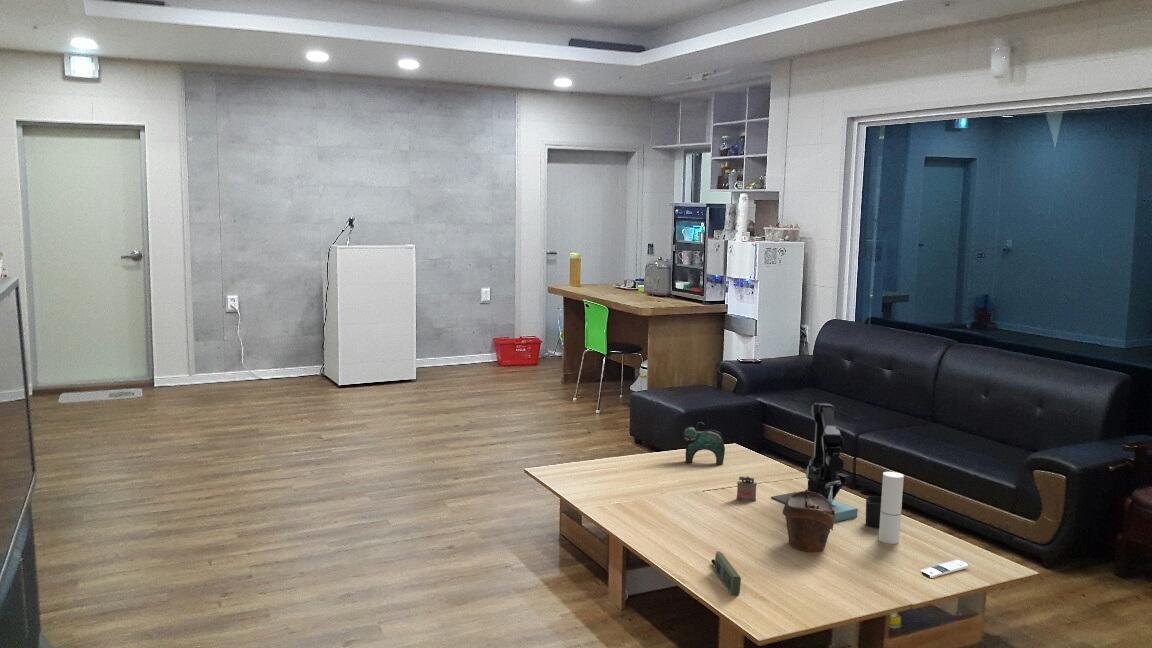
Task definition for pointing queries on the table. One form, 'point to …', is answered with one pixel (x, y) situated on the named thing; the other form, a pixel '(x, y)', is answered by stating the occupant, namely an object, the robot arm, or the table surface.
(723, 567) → the handheld radio
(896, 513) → the cylindrical container
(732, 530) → the table surface
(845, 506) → the teal square hole block
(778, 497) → the rubber mat
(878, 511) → the pen holder
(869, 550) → the table surface
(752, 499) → the lighter
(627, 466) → the table surface
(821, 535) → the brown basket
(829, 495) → the steel pin
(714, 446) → the ceramic cat
